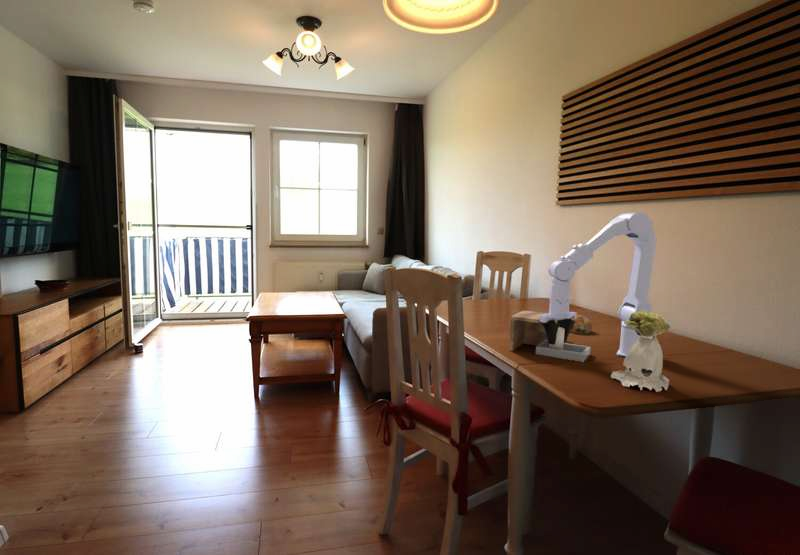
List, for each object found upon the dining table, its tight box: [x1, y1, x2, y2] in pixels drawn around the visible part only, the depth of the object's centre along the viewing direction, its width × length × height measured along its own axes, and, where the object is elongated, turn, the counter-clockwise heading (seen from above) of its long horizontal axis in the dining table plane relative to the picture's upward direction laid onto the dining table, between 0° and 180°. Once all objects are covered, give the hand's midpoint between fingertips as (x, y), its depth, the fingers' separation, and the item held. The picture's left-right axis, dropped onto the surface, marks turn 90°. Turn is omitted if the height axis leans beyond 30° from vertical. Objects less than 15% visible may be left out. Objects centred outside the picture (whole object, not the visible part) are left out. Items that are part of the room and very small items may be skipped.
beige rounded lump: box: [548, 327, 565, 350], centre depth 139 cm, size 4×4×6 cm
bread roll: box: [569, 314, 593, 335], centre depth 172 cm, size 10×10×8 cm
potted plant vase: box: [610, 311, 671, 393], centre depth 113 cm, size 12×13×18 cm
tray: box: [535, 340, 591, 363], centre depth 138 cm, size 14×10×2 cm
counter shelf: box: [509, 310, 547, 352], centre depth 144 cm, size 8×12×11 cm
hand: (556, 343), depth 139 cm, fingers closed on beige rounded lump, 4 cm apart
